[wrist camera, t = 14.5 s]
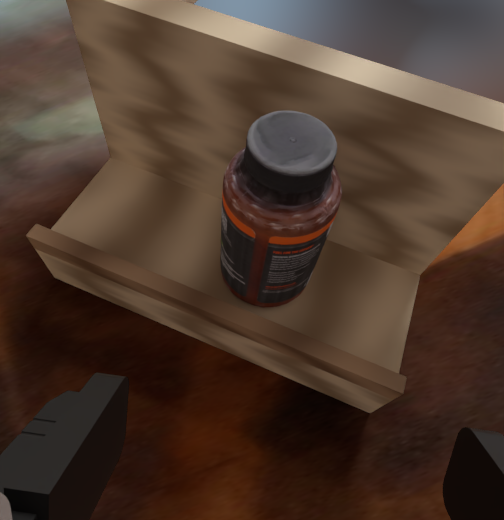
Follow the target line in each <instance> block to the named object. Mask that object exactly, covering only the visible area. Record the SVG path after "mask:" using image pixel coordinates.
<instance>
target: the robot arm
mask: <svg viewBox="0 0 504 520" xmlns="http://www.w3.org/2000/svg"><path fill="white" fill-rule="evenodd" d="M128 391H129V380H128V377H124V376H117V375H110V374H103V373H95V374H94V375H93V376H92V377H91V378H90V380H89V381H88V382H87V383H86V385H85V386H84V387H83V388H82V390H81V391H80V392H74V391H66V392H65V393H63V394H61V395H59V396H58V397H56V398H54V399H52V400H51V401H49V402H47V403H46V405H45V406H44V407H43V408H42V409H41V410H40V411H39V412H38V414H37V415H36V416H35V417H34V419H33V421H30V423H29V424H28V425H27V426H26V427H25V428H24V429H23V430H22V433H21V435H18V436H17V437H16V438H15V439H14V440H13V442H12V443H11V444H10V445H9V446H8V447H7V448H6V449H5V451H4V452H3V453H2V454H1V455H0V520H89V519H90V517H91V515H92V513H93V511H94V509H95V507H96V505H97V503H98V501H99V499H100V497H101V495H102V493H103V491H104V489H105V487H106V485H107V482H108V480H109V478H110V476H111V474H112V472H113V470H114V468H115V466H116V464H117V462H118V460H119V457H120V455H121V452H122V448H123V444H124V439H125V433H126V419H127V405H128ZM443 498H444V503H445V507H446V510H447V512H448V514H449V516H450V518H451V520H504V436H503V435H502V434H500V433H498V432H494V431H487V430H481V429H474V428H467V427H465V428H462V429H461V430H460V432H459V433H458V436H457V439H456V442H455V445H454V449H453V452H452V455H451V458H450V462H449V465H448V468H447V471H446V475H445V478H444V482H443Z"/></svg>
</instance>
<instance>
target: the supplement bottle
mask: <svg viewBox="0 0 504 520" xmlns="http://www.w3.org/2000/svg"><path fill="white" fill-rule="evenodd" d="M336 153H337V142H336V139H335V136H334V135H333V133H332V131H331V130H330V129H329V128H328V127H327V125H326V124H324V123H323V122H322V121H320V120H319V119H317V118H315V117H313V116H311V115H309V114H306V113H302V112H297V111H276V112H272V113H269V114H266V115H264V116H261V117H260V118H259V119H257V120H256V121H255V122H254V123H253V124H252V125H251V127H250V129H249V131H248V134H247V139H246V147H245V148H243V149H242V150H240V151H239V152H238V153H237V154H236V155H235V156H234V157H233V158H232V160H231V161H230V163H229V164H228V166H227V168H226V171H225V174H224V179H223V191H222V214H221V215H222V217H221V250H220V251H221V253H220V264H221V273H222V277H223V280H224V282H225V283H226V285H227V287H228V288H229V290H230V291H231V292H232V293H233V294H234V295H235V296H236V297H238V298H239V299H241V300H242V301H244V302H246V303H249V304H251V305H254V306H259V307H277V306H281V305H284V304H287V303H289V302H291V301H293V300H294V299H295V298H297V297H298V296H299V295H300V294H301V293H302V291H303V290H304V289H305V287H306V285H307V284H308V282H309V280H310V277H311V275H312V273H313V270H314V268H315V265H316V263H317V260H318V258H319V256H320V253H321V251H322V248H323V246H324V244H325V241H326V239H327V236H328V233H329V231H330V229H331V226H332V224H333V221H334V219H335V216H336V214H337V211H338V209H339V206H340V202H341V197H342V185H341V180H340V177H339V174H338V171H337V170H336V168H335V166H334V165H333V163H334V160H335V157H336Z"/></svg>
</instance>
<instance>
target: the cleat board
mask: <svg viewBox="0 0 504 520" xmlns="http://www.w3.org/2000/svg"><path fill="white" fill-rule="evenodd" d="M66 2H67V5H68V9H69V12H70V16H71V19H72V23H73V26H74V30H75V33H76V37H77V40H78V44H79V47H80V51H81V54H82V58H83V61H84V65H85V68H86V72H87V75H88V79H89V82H90V86H91V89H92V93H93V96H94V100H95V103H96V107H97V110H98V114H99V117H100V121H101V124H102V128H103V131H104V135H105V138H106V142H107V145H108V149H109V152H110V156H111V158H110V159H109V160H108V161H107V163H106V164H105V165H104V166H103V167H102V169H101V170H100V171H99V172H98V173H97V174H96V176H95V177H94V178H93V179H92V180H91V182H90V183H89V184H88V185H87V186H86V188H85V189H84V190H83V191H82V192H81V194H80V195H79V196H78V197H77V198H76V200H75V201H74V202H73V203H72V204H71V206H70V207H69V208H68V209H67V210H66V212H65V213H64V214H63V215H62V216H61V218H60V219H59V220H58V221H57V222H56V224H55V225H54V226H53V227H52V228H51V230H50V229H48V228H46V227H43V226H41V225H38V224H35V226H34V227H33V228H32V229H31V230H30V231H29V232H28V234H27V235H26V237H27V238H28V239H29V241H30V242H31V244H32V245H33V247H34V248H35V250H36V251H37V253H38V254H39V256H40V257H41V259H42V260H43V261H44V263H45V264H46V266H47V267H48V269H49V270H50V272H51V273H52V275H53V276H54V278H56V279H59V280H61V281H63V282H66V283H68V284H70V285H73V286H75V287H77V288H80V289H82V290H84V291H87V292H89V293H91V294H94V295H96V296H98V297H101V298H103V299H105V300H107V301H110V302H112V303H114V304H117V305H119V306H121V307H124V308H126V309H128V310H131V311H133V312H135V313H138V314H140V315H142V316H145V317H147V318H149V319H152V320H154V321H156V322H159V323H161V324H163V325H166V326H168V327H170V328H173V329H175V330H177V331H180V332H182V333H184V334H187V335H189V336H191V337H194V338H196V339H198V340H200V341H203V342H205V343H207V344H210V345H212V346H214V347H217V348H219V349H221V350H224V351H226V352H228V353H231V354H233V355H235V356H238V357H240V358H242V359H245V360H247V361H249V362H252V363H254V364H256V365H259V366H261V367H263V368H266V369H268V370H270V371H273V372H275V373H277V374H280V375H282V376H284V377H287V378H289V379H291V380H293V381H296V382H298V383H300V384H303V385H305V386H307V387H310V388H312V389H314V390H317V391H319V392H321V393H324V394H326V395H328V396H331V397H333V398H335V399H338V400H340V401H342V402H345V403H347V404H349V405H352V406H354V407H356V408H359V409H361V410H363V411H366V412H368V413H371V412H373V411H375V410H377V409H378V408H380V407H382V406H383V405H385V404H387V403H389V402H390V401H392V400H394V399H395V398H397V397H399V396H401V395H402V394H403V393H404V388H405V383H406V378H407V377H406V376H403V375H401V374H399V370H400V365H401V360H402V356H403V351H404V347H405V342H406V337H407V333H408V328H409V324H410V319H411V314H412V310H413V305H414V301H415V296H416V292H417V287H418V282H419V278H420V275H421V273H422V272H423V271H424V270H425V269H426V268H427V267H428V266H429V265H430V264H431V262H432V261H433V260H434V259H435V258H436V257H437V256H438V255H439V254H440V253H441V251H442V250H443V249H444V248H445V247H446V246H447V245H448V244H449V243H450V241H451V240H452V239H453V238H454V237H455V236H456V235H457V234H458V233H459V232H460V230H461V229H462V228H463V227H464V226H465V225H466V224H467V223H468V222H469V221H470V219H471V218H472V217H473V216H474V215H475V214H476V213H477V212H478V211H479V210H480V208H481V207H482V206H483V205H484V204H485V203H486V202H487V201H488V200H489V199H490V197H491V196H492V195H493V194H494V193H495V192H496V191H497V190H498V189H499V187H500V186H501V185H502V184H503V183H504V104H503V103H500V102H497V101H494V100H491V99H488V98H485V97H482V96H479V95H476V94H472V93H469V92H466V91H463V90H460V89H457V88H454V87H451V86H447V85H444V84H441V83H438V82H435V81H432V80H428V79H425V78H422V77H419V76H416V75H413V74H410V73H407V72H404V71H400V70H397V69H394V68H391V67H388V66H385V65H382V64H378V63H375V62H372V61H369V60H366V59H363V58H360V57H356V56H353V55H350V54H347V53H344V52H341V51H338V50H335V49H331V48H328V47H325V46H322V45H319V44H316V43H313V42H310V41H307V40H303V39H300V38H297V37H294V36H291V35H288V34H284V33H281V32H278V31H275V30H272V29H269V28H266V27H263V26H259V25H256V24H253V23H250V22H247V21H244V20H241V19H238V18H234V17H231V16H228V15H225V14H222V13H219V12H215V11H213V10H209V9H206V8H203V7H200V6H197V5H194V4H191V3H188V2H184V1H181V0H66ZM276 111H297V112H302V113H306V114H309V115H311V116H313V117H315V118H317V119H319V120H320V121H322V122H323V123H324V124H326V125H327V127H328V128H329V129H330V130H331V131H332V133H333V135H334V136H335V139H336V142H337V153H336V157H335V160H334V163H333V165H334V166H335V168H336V170H337V171H338V174H339V177H340V180H341V185H342V197H341V202H340V206H339V209H338V211H337V214H336V216H335V219H334V221H333V224H332V226H331V229H330V231H329V233H328V236H327V239H326V241H325V244H324V246H323V248H322V251H321V253H320V256H319V258H318V260H317V263H316V265H315V268H314V270H313V273H312V275H311V277H310V280H309V282H308V284H307V285H306V287H305V289H304V290H303V291H302V293H301V294H300V295H299V296H298V297H297V298H295V299H294V300H293V301H291V302H289V303H287V304H284V305H281V306H277V307H259V306H254V305H251V304H249V303H246V302H244V301H242V300H241V299H239V298H238V297H236V296H235V295H234V294H233V293H232V292H231V291H230V290H229V288H228V287H227V285H226V283H225V282H224V280H223V277H222V273H221V264H220V253H221V251H220V250H221V217H222V215H221V214H222V191H223V179H224V174H225V171H226V168H227V166H228V164H229V163H230V161H231V160H232V158H233V157H234V156H235V155H236V154H237V153H238V152H239V151H240V150H242V149H243V148H245V147H246V139H247V134H248V131H249V129H250V127H251V125H252V124H253V123H254V122H255V121H256V120H257V119H259V118H260V117H261V116H264V115H266V114H269V113H272V112H276Z"/></svg>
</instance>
